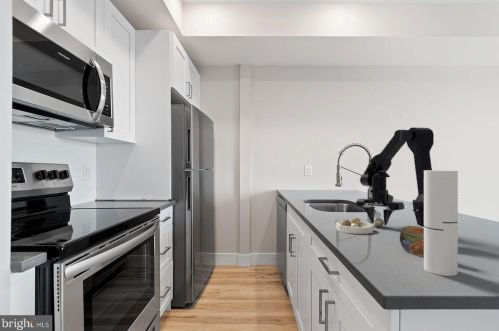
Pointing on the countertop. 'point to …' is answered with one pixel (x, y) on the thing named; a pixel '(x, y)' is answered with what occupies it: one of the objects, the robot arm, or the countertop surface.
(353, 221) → the oak bead
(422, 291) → the countertop surface
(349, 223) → the walnut bead
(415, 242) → the tin
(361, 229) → the groove tray
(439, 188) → the cylindrical container
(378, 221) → the maple bead
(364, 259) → the countertop surface
